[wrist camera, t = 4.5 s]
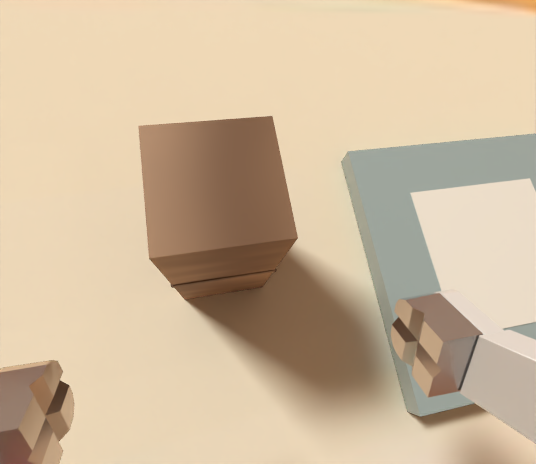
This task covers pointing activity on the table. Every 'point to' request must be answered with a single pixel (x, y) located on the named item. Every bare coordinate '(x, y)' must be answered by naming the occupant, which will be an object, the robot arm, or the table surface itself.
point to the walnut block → (215, 204)
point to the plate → (449, 233)
